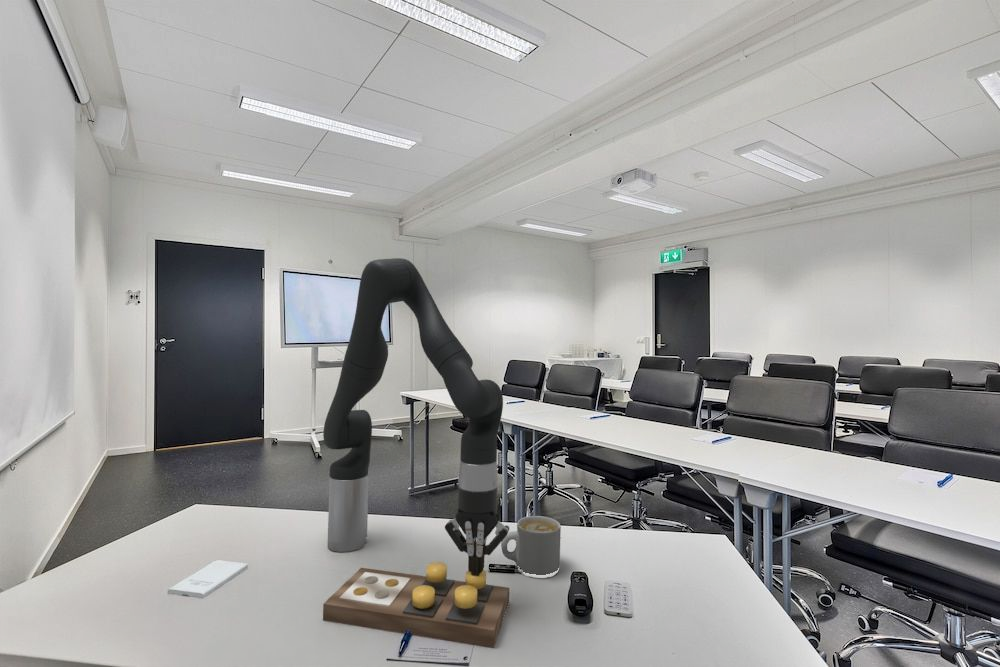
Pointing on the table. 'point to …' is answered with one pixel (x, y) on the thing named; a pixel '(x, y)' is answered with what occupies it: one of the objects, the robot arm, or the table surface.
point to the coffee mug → (535, 545)
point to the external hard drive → (208, 579)
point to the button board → (390, 608)
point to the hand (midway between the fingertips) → (475, 573)
